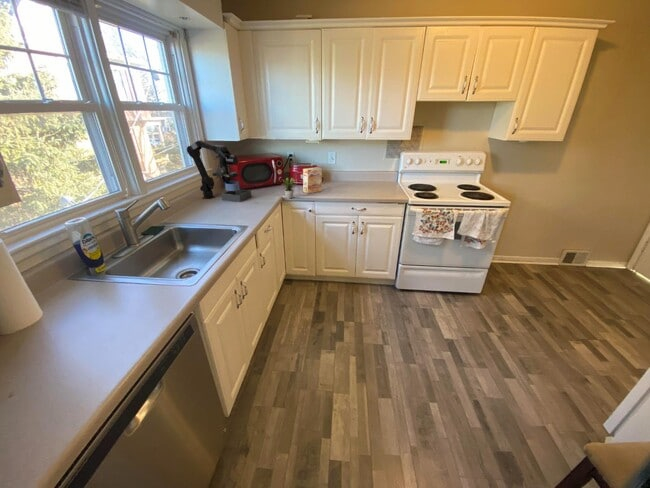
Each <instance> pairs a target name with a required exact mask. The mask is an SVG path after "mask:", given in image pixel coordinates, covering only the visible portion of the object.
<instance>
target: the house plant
mask: <svg viewBox="0 0 650 488" xmlns="http://www.w3.org/2000/svg"><path fill="white" fill-rule="evenodd" d="M282 182H283V184H282V186H283V187H284V194H285V195H284V196H285V198H286V199H287V200H289V199H293V198H294V189H295V188H296V186H297V185H298V181H297V179H296V180H295V178H293V177H291V178H290V179H289V178H288V177H286V178H285V179H282ZM293 188H294V189H293Z"/></svg>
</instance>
